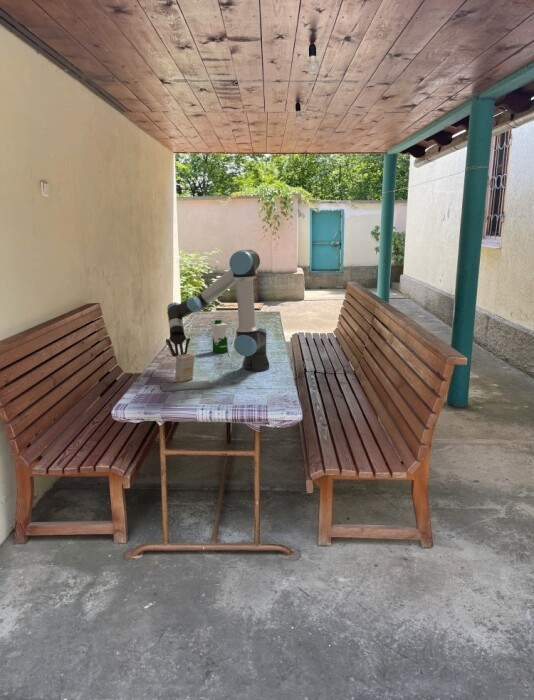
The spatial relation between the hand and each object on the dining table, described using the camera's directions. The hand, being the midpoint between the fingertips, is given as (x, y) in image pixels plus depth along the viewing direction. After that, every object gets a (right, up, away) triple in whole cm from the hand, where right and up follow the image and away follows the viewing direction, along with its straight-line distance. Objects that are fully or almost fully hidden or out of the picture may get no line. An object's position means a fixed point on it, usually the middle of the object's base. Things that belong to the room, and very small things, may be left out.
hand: (181, 366), depth 269 cm
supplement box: (+1, -7, -1) cm, 7 cm away
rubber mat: (+5, -9, -12) cm, 16 cm away
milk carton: (+14, +7, +64) cm, 66 cm away
